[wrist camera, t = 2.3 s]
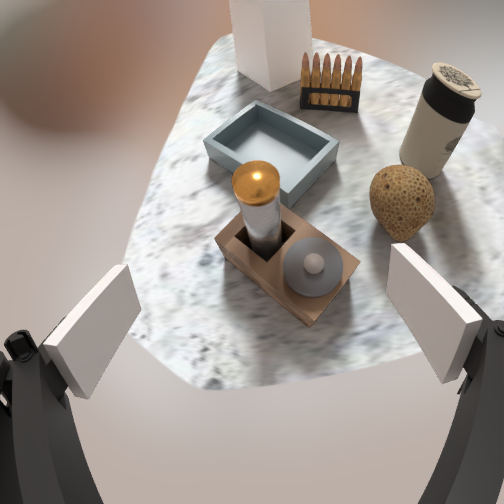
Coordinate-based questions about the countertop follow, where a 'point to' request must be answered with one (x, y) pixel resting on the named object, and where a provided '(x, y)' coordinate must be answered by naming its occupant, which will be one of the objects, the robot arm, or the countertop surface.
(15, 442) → the robot arm
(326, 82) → the ammunition clip
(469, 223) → the countertop surface
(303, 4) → the milk
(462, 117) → the travel mug
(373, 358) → the countertop surface
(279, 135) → the tray
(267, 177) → the pin
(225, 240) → the block
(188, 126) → the countertop surface
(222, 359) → the countertop surface
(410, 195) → the natural sponge
